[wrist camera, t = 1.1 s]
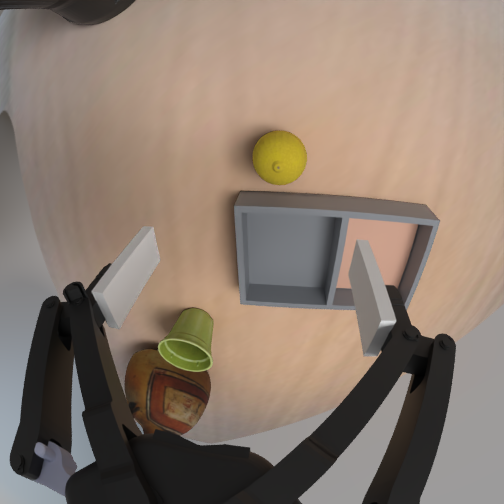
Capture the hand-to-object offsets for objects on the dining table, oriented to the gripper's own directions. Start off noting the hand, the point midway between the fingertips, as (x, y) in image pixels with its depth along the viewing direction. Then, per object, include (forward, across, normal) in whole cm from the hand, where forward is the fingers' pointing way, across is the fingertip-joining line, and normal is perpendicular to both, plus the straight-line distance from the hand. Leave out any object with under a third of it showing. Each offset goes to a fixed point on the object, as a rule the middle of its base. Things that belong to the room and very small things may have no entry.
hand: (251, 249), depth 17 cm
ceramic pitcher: (+17, -21, -46) cm, 53 cm away
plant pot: (+18, -12, -28) cm, 35 cm away
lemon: (+18, +1, +2) cm, 18 cm away
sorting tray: (+17, +9, -10) cm, 22 cm away
